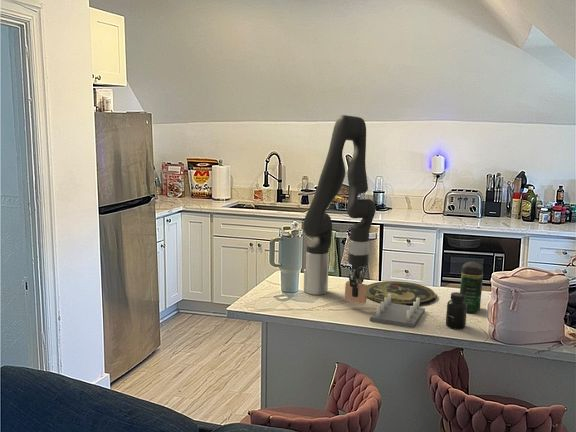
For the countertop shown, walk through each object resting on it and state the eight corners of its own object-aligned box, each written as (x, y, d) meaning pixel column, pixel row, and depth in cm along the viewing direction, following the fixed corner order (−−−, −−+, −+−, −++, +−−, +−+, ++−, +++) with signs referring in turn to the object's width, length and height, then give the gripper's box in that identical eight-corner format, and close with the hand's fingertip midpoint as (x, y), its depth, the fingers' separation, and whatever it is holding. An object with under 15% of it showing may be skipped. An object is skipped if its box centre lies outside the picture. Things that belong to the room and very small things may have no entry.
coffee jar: (479, 315, 225) (482, 267, 222) (457, 312, 228) (460, 264, 225) (481, 307, 234) (484, 261, 231) (460, 304, 237) (463, 259, 233)
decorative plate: (376, 277, 267) (444, 287, 254) (376, 281, 268) (443, 291, 254) (351, 295, 241) (425, 308, 228) (351, 300, 242) (425, 312, 228)
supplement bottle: (444, 328, 211) (446, 295, 209) (446, 322, 217) (448, 290, 215) (464, 331, 208) (467, 298, 206) (466, 324, 215) (468, 292, 213)
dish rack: (369, 320, 217) (370, 306, 216) (383, 305, 234) (384, 292, 233) (413, 328, 210) (414, 313, 209) (424, 311, 227) (425, 298, 226)
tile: (344, 300, 230) (345, 282, 228) (346, 298, 232) (347, 280, 230) (364, 304, 226) (365, 286, 225) (366, 302, 228) (367, 284, 227)
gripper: (355, 246, 233) (352, 289, 236) (342, 254, 220) (340, 299, 224) (373, 249, 230) (371, 292, 233) (362, 257, 217) (359, 302, 221)
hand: (356, 295), depth 228 cm, fingers closed on tile, 2 cm apart
